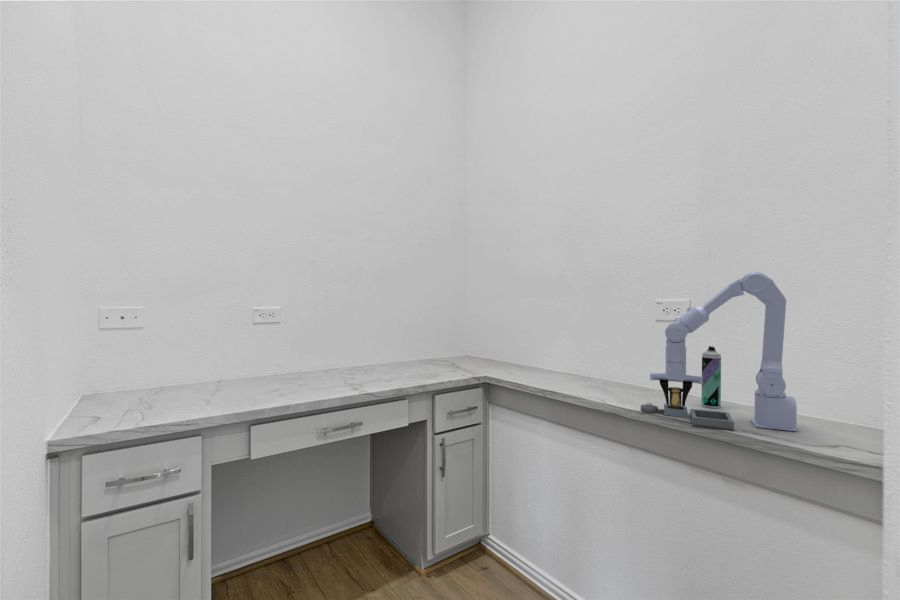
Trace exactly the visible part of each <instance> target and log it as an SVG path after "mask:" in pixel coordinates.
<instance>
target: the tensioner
mask: <svg viewBox="0 0 900 600" xmlns="http://www.w3.org/2000/svg"><path fill="white" fill-rule="evenodd" d="M640 411H641V412H642V413H647V414H658V413H659V414H663V415H664V416H667V415H670V416H669V417H676V416H678V418H686V417H687V418H688V417H689V416H688V413H689V412H688V411H689V410H688V407H687V405H685V406H682V405H681V410H679V409H670V403H669V405H667V404H666V403H663V409H662V408H659V407H658V406H657V405H655V404H653V403H652V402H646V404H645V403H644V404H641V405H640Z"/></svg>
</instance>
